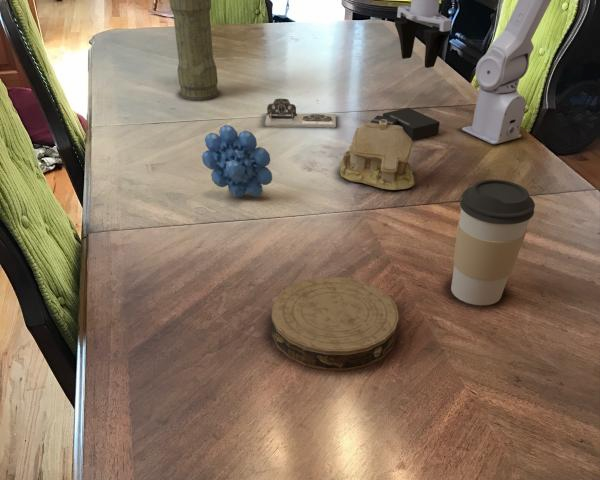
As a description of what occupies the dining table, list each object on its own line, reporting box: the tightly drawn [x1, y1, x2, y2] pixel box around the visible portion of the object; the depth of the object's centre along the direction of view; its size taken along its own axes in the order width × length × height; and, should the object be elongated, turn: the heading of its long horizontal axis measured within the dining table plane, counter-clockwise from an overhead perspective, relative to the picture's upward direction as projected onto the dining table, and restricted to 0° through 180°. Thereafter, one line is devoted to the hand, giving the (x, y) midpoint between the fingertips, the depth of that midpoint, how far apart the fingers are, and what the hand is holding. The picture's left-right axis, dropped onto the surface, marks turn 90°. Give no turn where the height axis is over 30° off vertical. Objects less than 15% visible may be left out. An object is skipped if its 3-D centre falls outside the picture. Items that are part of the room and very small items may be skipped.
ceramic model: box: [338, 119, 415, 191], centre depth 109 cm, size 14×11×10 cm
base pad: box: [382, 107, 441, 142], centre depth 128 cm, size 10×7×3 cm
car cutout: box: [264, 98, 337, 128], centre depth 131 cm, size 15×7×4 cm, turn 88°
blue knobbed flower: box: [201, 124, 273, 199], centre depth 101 cm, size 12×7×12 cm, turn 85°
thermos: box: [169, 0, 219, 102], centre depth 132 cm, size 9×12×35 cm
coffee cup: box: [450, 178, 536, 306], centre depth 80 cm, size 9×9×15 cm
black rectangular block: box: [369, 115, 398, 125], centre depth 125 cm, size 4×6×3 cm
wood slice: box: [271, 276, 400, 372], centre depth 78 cm, size 16×16×3 cm
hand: (417, 62), depth 132 cm, fingers open, 7 cm apart
